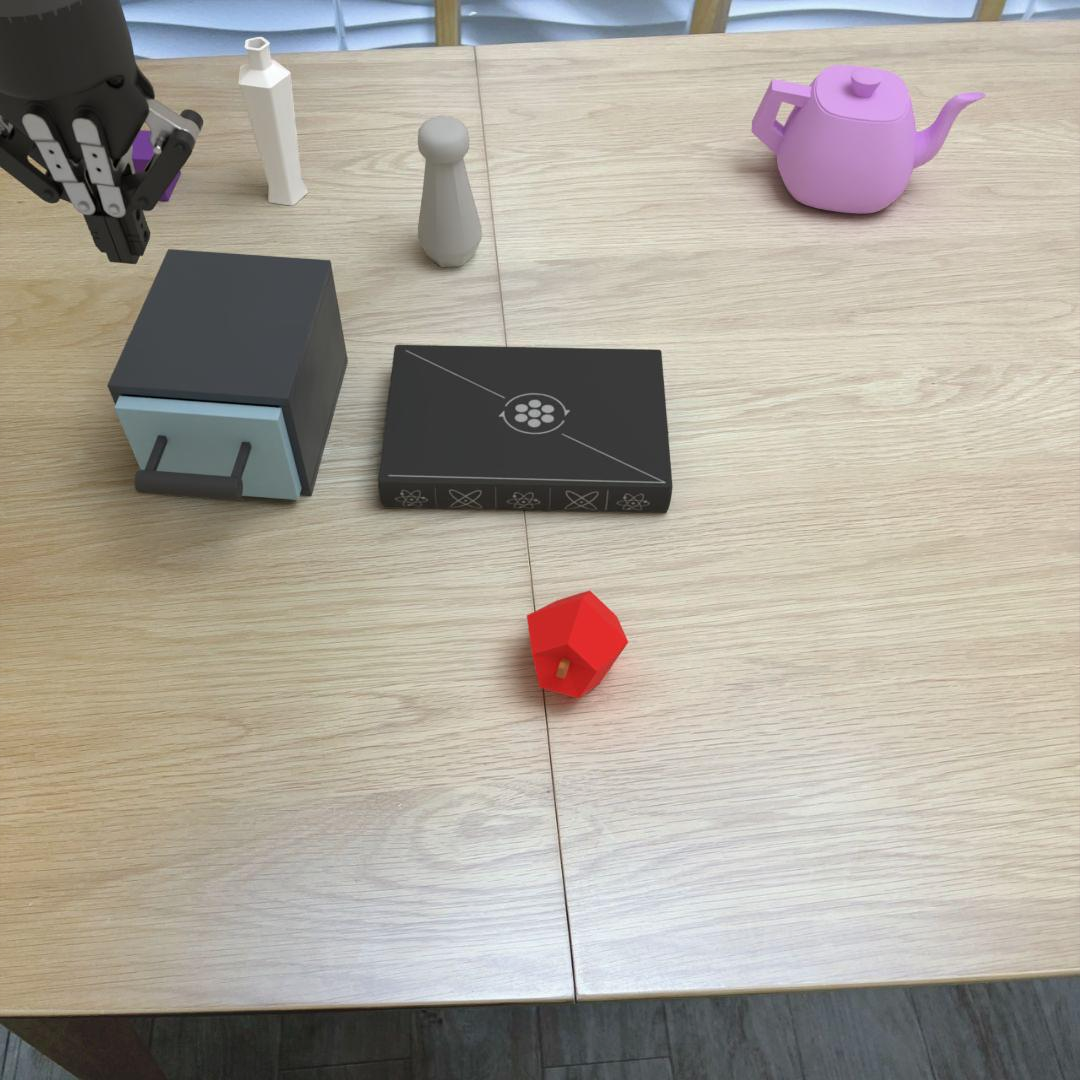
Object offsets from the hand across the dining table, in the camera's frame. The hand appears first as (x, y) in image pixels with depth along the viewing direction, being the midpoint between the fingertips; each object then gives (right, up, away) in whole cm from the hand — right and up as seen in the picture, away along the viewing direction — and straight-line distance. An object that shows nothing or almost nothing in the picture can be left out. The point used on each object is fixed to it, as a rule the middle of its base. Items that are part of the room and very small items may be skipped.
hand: (127, 253), depth 64 cm
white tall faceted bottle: (0, +16, +41) cm, 44 cm away
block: (-13, +17, +41) cm, 46 cm away
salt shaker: (+16, +9, +36) cm, 40 cm away
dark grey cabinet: (+1, -7, +23) cm, 24 cm away
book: (+23, -9, +22) cm, 34 cm away
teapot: (+54, +18, +43) cm, 72 cm away
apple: (+27, -25, +10) cm, 38 cm away
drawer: (+1, -10, +20) cm, 22 cm away
